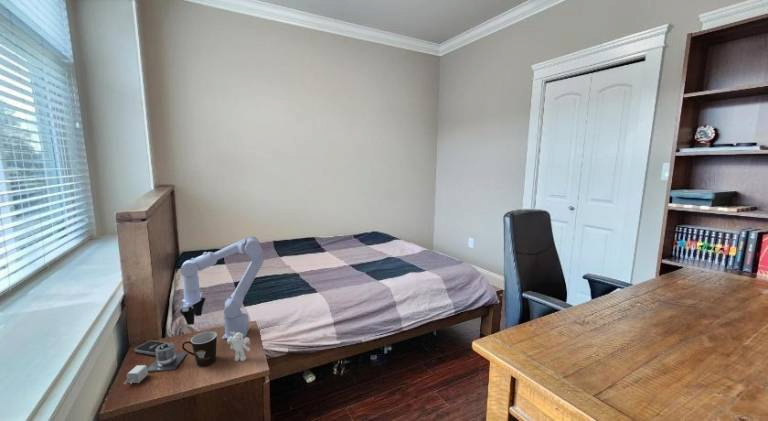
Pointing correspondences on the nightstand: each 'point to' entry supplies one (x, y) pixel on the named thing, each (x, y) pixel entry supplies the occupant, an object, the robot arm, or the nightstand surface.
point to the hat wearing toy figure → (238, 345)
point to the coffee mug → (203, 348)
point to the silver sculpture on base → (167, 363)
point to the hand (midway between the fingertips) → (194, 319)
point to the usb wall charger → (137, 374)
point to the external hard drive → (148, 348)
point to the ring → (165, 351)
